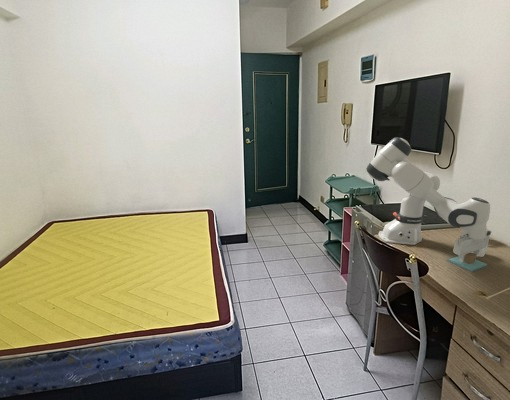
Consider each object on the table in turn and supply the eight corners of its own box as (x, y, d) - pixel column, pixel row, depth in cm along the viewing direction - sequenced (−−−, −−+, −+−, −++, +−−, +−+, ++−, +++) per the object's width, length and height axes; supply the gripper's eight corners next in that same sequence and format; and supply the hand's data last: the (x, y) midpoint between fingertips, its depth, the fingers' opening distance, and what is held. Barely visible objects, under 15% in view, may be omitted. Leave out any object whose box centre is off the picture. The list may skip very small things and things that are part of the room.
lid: (471, 271, 146) (473, 261, 145) (448, 260, 156) (450, 251, 154) (486, 265, 151) (488, 256, 149) (463, 255, 160) (465, 247, 159)
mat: (472, 273, 145) (472, 272, 145) (445, 261, 156) (445, 260, 156) (489, 266, 151) (490, 266, 150) (462, 255, 162) (462, 254, 162)
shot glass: (485, 259, 158) (488, 246, 156) (469, 255, 161) (471, 243, 159) (485, 253, 163) (487, 240, 161) (469, 250, 167) (471, 238, 165)
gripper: (465, 239, 142) (460, 267, 146) (494, 230, 150) (487, 257, 154) (452, 234, 147) (447, 261, 151) (480, 226, 155) (474, 252, 160)
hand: (467, 259), depth 153 cm, fingers open, 8 cm apart
